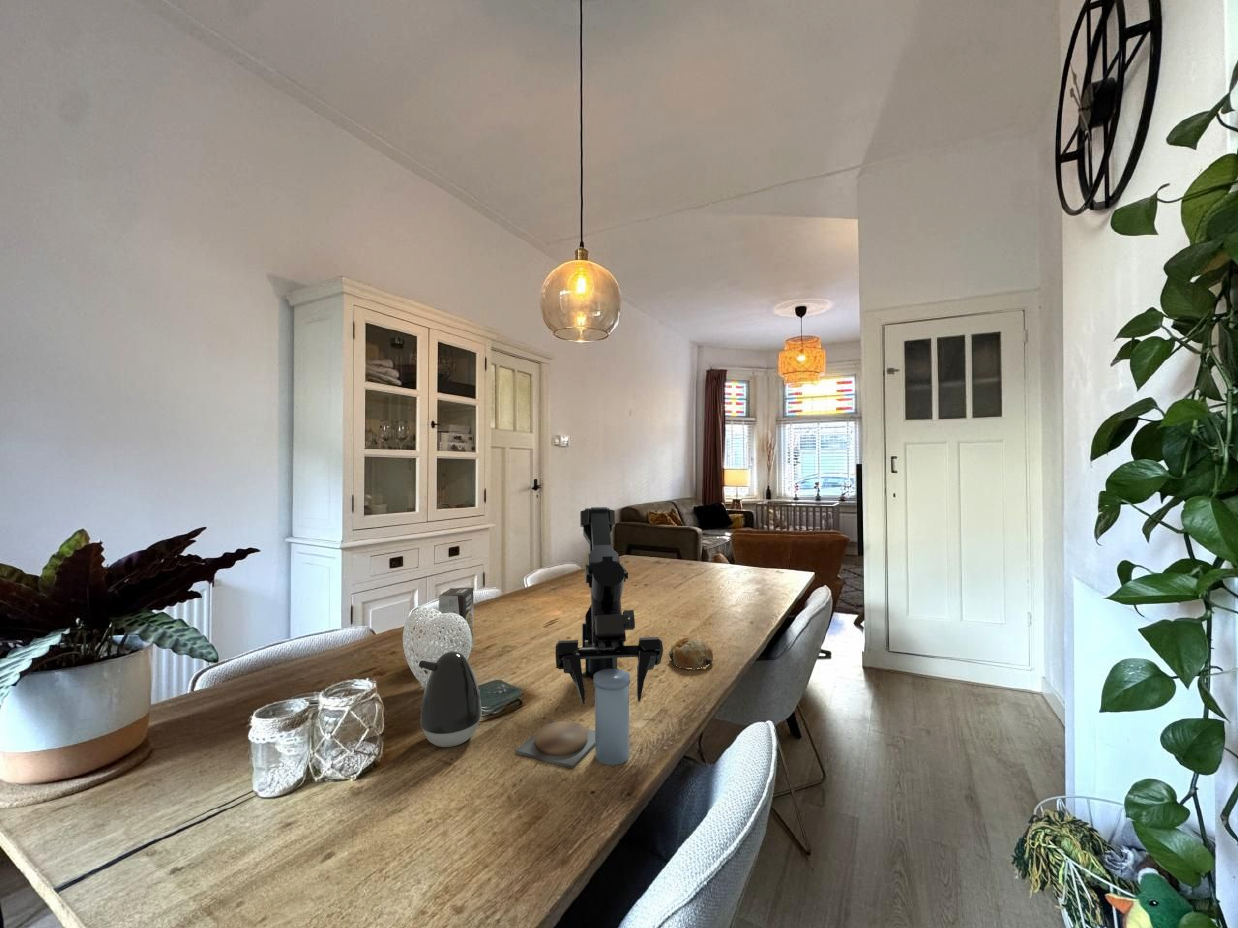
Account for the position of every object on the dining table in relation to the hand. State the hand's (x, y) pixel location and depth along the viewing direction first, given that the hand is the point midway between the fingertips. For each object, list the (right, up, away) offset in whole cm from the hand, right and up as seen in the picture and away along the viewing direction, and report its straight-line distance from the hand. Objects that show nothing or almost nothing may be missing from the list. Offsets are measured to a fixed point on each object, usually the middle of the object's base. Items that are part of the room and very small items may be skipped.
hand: (611, 702), depth 85 cm
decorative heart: (-38, -9, +25) cm, 46 cm away
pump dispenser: (-28, -9, +5) cm, 30 cm away
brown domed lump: (+18, -9, +39) cm, 44 cm away
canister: (0, -8, -1) cm, 8 cm away
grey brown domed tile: (-9, -9, +3) cm, 13 cm away
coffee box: (-41, -10, +47) cm, 63 cm away
